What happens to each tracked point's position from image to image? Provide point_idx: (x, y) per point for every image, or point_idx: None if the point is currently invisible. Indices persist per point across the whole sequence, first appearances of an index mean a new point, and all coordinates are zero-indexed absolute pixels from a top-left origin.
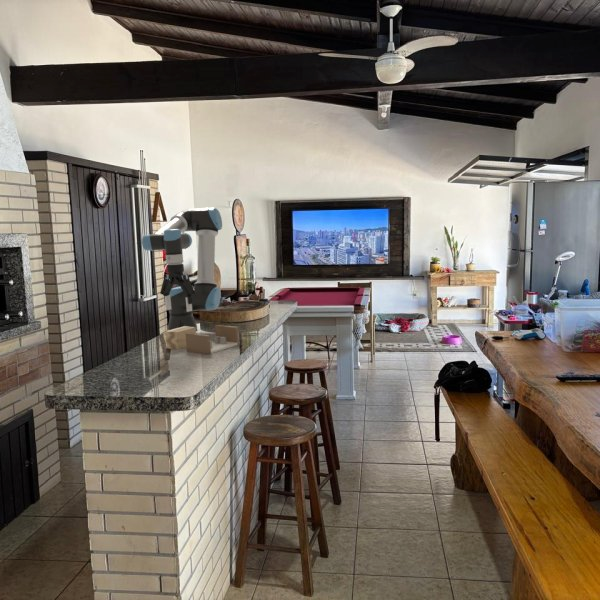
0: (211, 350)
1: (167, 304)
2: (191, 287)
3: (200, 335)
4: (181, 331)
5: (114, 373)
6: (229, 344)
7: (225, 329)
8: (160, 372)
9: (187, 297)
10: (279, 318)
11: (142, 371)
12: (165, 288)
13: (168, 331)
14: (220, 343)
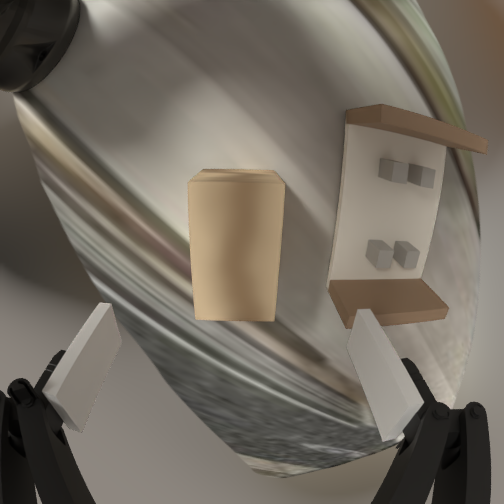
0: (418, 269)
1: (103, 365)
2: (479, 480)
3: (420, 321)
4: (276, 288)
5: (280, 438)
6: (437, 178)
7: (434, 137)
8: (367, 407)
9: (400, 431)
10: None
11: (327, 418)
12: (14, 462)
13: (217, 319)
14: (407, 181)
